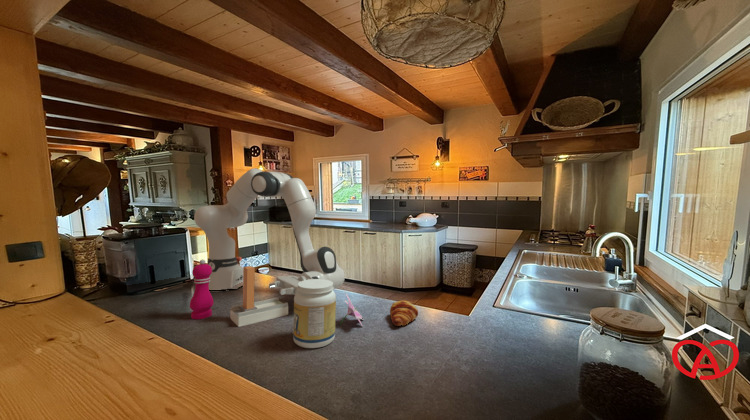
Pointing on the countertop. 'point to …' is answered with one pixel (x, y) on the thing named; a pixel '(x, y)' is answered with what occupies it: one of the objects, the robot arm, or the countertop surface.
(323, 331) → the supplement tub
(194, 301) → the pepper mill
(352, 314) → the lily
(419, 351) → the countertop surface
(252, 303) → the lever
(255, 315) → the white base plate
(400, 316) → the croissant
